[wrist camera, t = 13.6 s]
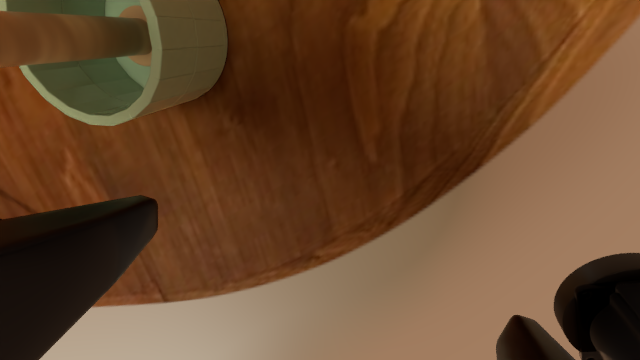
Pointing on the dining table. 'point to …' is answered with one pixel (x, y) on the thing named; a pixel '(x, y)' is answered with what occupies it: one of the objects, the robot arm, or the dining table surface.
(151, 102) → the green mortar bowl
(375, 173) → the dining table surface
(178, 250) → the dining table surface
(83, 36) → the wooden pestle
